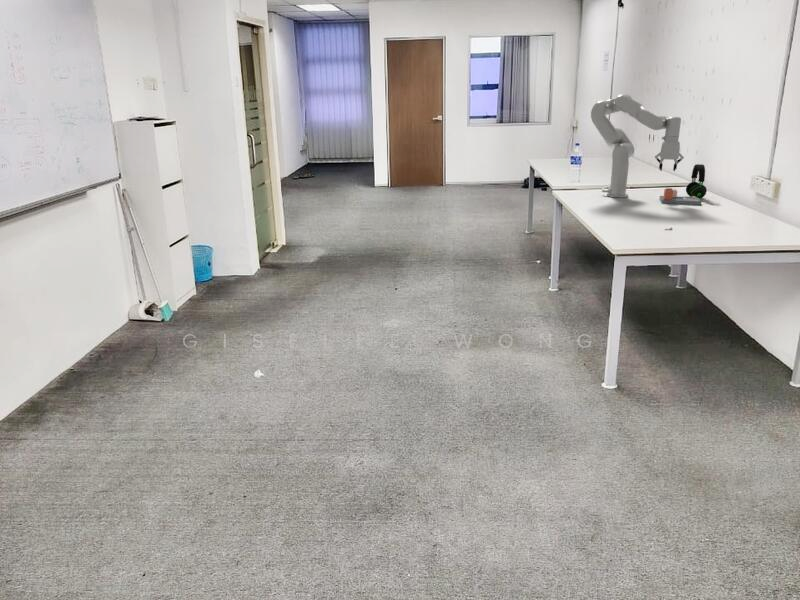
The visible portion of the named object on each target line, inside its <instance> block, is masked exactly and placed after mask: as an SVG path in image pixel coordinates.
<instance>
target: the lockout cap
mask: <svg viewBox="0 0 800 600" xmlns="http://www.w3.org/2000/svg"><path fill="white" fill-rule="evenodd" d="M663 190H664V191H663V196H664V197H663V199H665V200H672V198H673V191H674V189H673V188H667V187H666V188H664V189H663Z"/></svg>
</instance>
